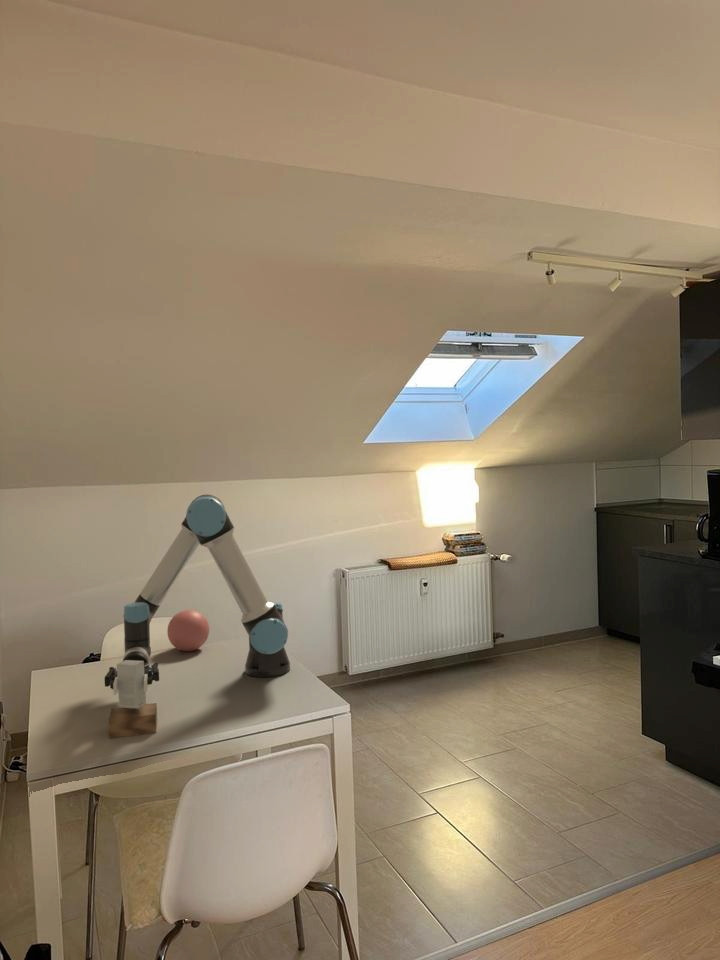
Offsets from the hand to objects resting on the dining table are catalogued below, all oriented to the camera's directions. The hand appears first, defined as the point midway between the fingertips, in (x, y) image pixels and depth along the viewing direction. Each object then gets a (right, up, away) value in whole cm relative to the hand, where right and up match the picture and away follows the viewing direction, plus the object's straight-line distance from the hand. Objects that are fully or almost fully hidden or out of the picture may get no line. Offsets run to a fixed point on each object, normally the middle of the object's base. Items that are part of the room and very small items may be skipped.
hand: (130, 687), depth 192 cm
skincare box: (-1, -7, +5) cm, 8 cm away
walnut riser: (-1, -13, +5) cm, 14 cm away
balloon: (-4, -9, +84) cm, 85 cm away
